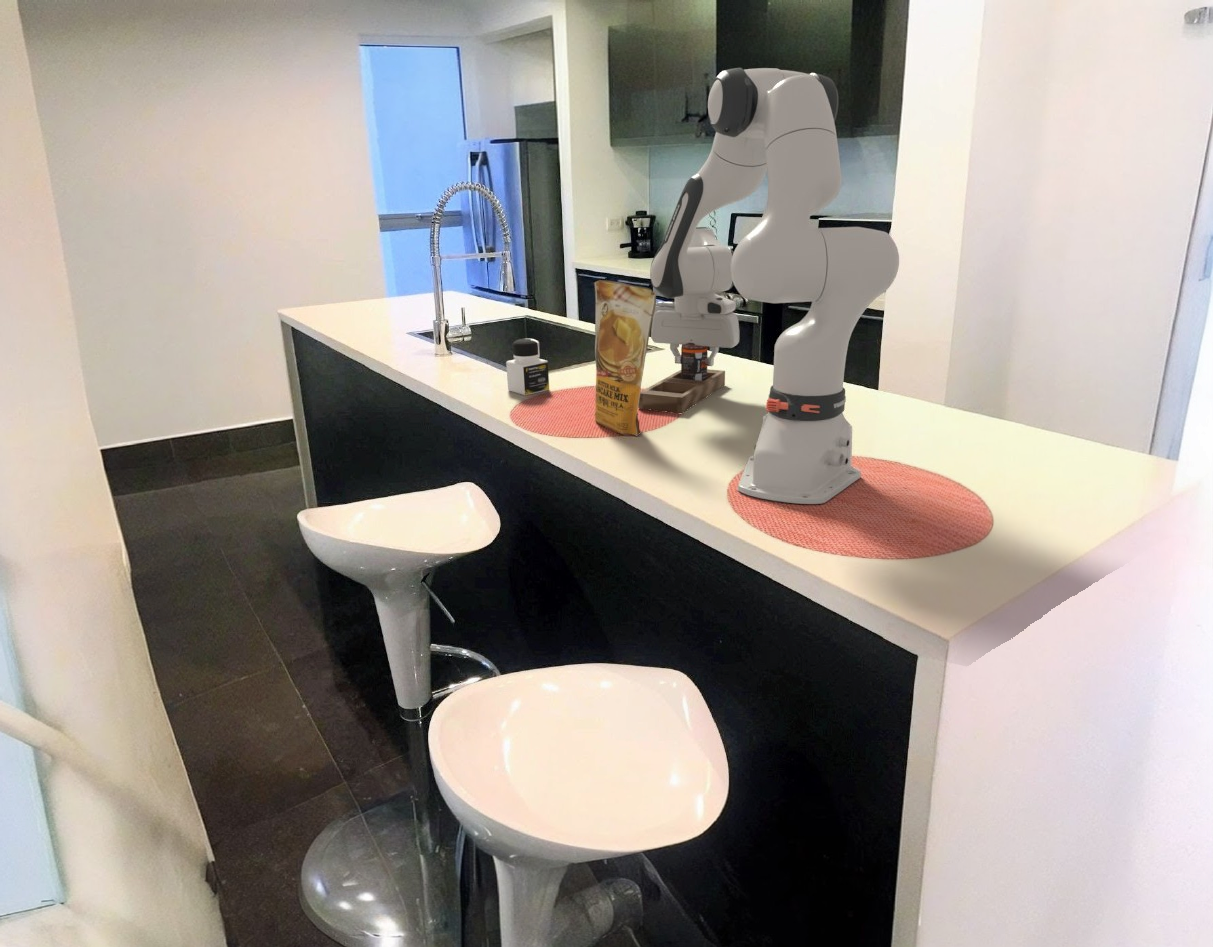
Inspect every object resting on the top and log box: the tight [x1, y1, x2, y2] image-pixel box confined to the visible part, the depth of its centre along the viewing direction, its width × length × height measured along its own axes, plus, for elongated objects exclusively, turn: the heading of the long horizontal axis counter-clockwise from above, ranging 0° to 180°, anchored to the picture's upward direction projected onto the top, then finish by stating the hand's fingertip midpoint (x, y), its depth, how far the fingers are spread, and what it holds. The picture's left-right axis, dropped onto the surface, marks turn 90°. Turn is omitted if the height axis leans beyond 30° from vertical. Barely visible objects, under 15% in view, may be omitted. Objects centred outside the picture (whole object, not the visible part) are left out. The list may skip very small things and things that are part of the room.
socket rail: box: [638, 368, 726, 414], centre depth 186 cm, size 26×10×4 cm, turn 152°
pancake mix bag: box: [593, 279, 657, 437], centre depth 162 cm, size 7×19×28 cm, turn 29°
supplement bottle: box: [680, 340, 709, 381], centre depth 189 cm, size 6×6×11 cm
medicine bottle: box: [505, 338, 550, 396], centre depth 194 cm, size 7×7×12 cm
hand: (694, 364), depth 189 cm, fingers closed on supplement bottle, 6 cm apart
